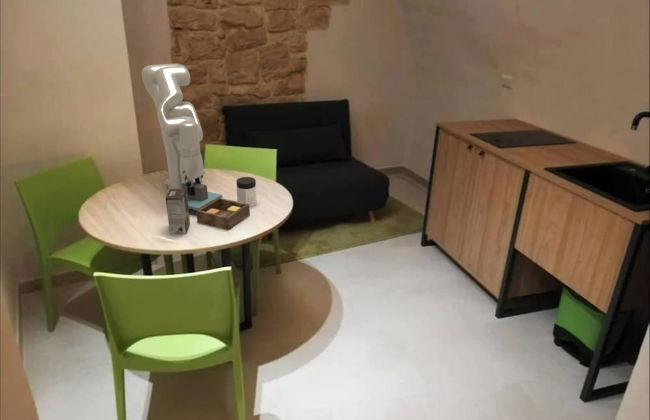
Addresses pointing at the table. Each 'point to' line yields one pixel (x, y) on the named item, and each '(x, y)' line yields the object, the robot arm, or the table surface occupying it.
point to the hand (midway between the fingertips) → (195, 192)
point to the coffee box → (177, 211)
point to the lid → (200, 196)
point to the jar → (246, 190)
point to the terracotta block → (214, 211)
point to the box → (223, 213)
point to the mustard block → (232, 210)
